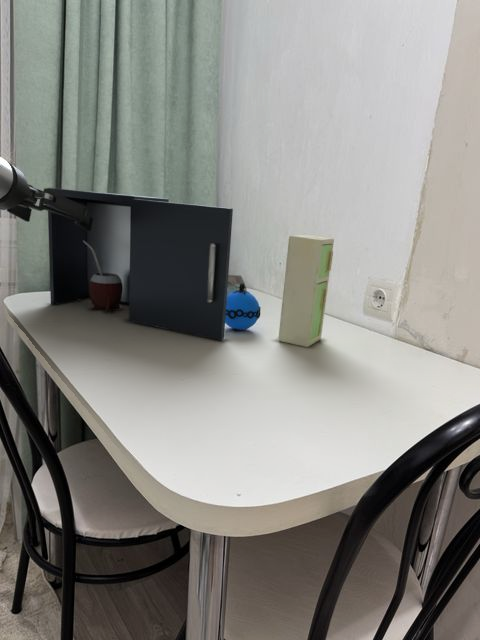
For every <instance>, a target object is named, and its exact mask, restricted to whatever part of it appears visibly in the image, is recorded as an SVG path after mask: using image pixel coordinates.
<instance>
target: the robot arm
mask: <svg viewBox="0 0 480 640" xmlns="http://www.w3.org/2000/svg"><path fill="white" fill-rule="evenodd" d="M38 201H39V202H38ZM37 202H38V205H37ZM89 209H90V208H88V207H85V206H83V205H81V204H79V203H76V202H74V201H72V200H70V199H67V198H65V197H63V196H60V195H58V194H56V193H55V192H53V191H51V190H49V189H47V187H46V188H43V190H41V189H39V188H36V187H34V186H33V185H32V184H29V183H28V180H27V178H26V176H25V174H24V173H23V172H22V171H21V170H20V169H19V168H18V167H16V166H14V165H13V164H12V163H10V162H9V161H7V160H5V159H4V158H3V157H1V156H0V210H1V211H7V212H8V213H10V214H12V215H13V216H15V217H17V218H19V219H21V220H22V221H24V222H27V223H30V221H31V216H32V212H33V211H32V210H36V211H39V212H42V211H46V212H48V211H49V212H52V213H55V214H58V215H61V216H64V217H67V218H70V219H72V221H73V222H74V223H75V224H76V225H79V226H81V227H82V228H84V229H85V230H87V231H91V227H92V222H93V218H92V217H90V216H89Z"/></svg>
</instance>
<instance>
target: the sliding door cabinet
mask: <svg viewBox="0 0 480 640" xmlns="http://www.w3.org/2000/svg"><path fill="white" fill-rule="evenodd" d="M46 189H49V190H51V191H53V192H55V193H56V194H58V195H60V196H63V197H65V198H67V199H70V200H72V201H74V202H76V203H79V204H81V205H83V206H85V207H88V208H90V209H89V216H90V217H92V218H93V222H92V227H91V231H87V230H85V229H84V228H82V227H81V226H79V225H76V224H75V223H74V222H73V221H72V219H70V218H67V217H64V216H61V215H58V214H55V213H52V212H49V211H47V225H48V258H49V259H48V260H49V262H48V263H49V292H50V305H52V306H55V305H60V304H61V305H62V304H66V303H70V302H76V301H81V300H87V299H90V300H91V298H90V288H89V286H90V281H91V278H92V276H93V275H94V274H95V273H99V270H98V267H97V264H96V261H95V258H94V256H93V254H92V250H91V249H90V248H89V247H88V246H87V245H86V244H85V243H84V242H83V240H84V241H85V242H87V243H88V244H89V245H90V246H91V247H92V248H93V249H94V251H95V252H96V254H97V255H96V256H97V259H98V262H99V265H100V268H101V271H102V273H113V274H117V275H118V276H119V277H120V279H121V281H122V288H123V289H122V297H121V301H120V304H119V306H124V307H128V321H129V322H131V323H136V324H141V325H146V326H151V327H156V328H160V329H165V330H171V331H174V332H179V333H184V334H190V335H194V336H199V337H204V338H209V339H212V340H213V339H214V340H218V341H223V340H224V339H225V331H226V323H225V317H226V302H227V288H228V275H229V274H230V273H229V271H230V257H231V242H232V230H233V229H232V228H233V216H234V215H233V213H234V208H230V207H221V206H211V205H201V204H192V203H191V204H190V203H181V202H171V201H170V198H163V197H155V196H154V197H152V196H145V195H144V196H142V195H131V194H122V193H112V192H103V191H101V192H100V191H91V190H78V189H67V188H66V189H65V188H55V187H53V188H52V187H46Z"/></svg>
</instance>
